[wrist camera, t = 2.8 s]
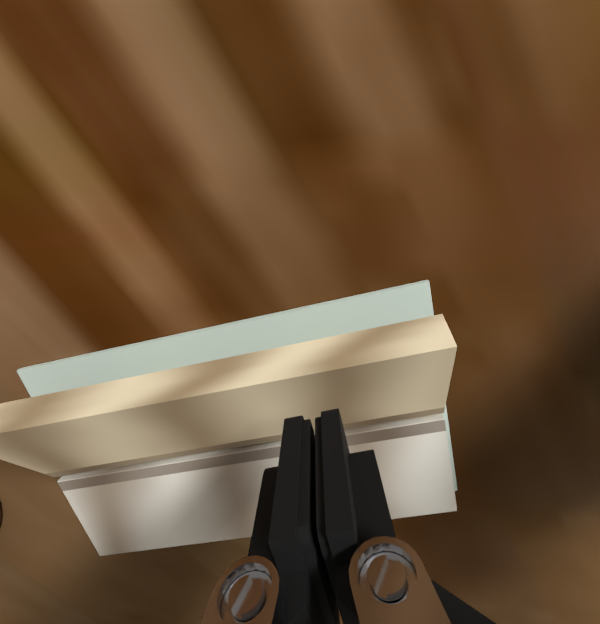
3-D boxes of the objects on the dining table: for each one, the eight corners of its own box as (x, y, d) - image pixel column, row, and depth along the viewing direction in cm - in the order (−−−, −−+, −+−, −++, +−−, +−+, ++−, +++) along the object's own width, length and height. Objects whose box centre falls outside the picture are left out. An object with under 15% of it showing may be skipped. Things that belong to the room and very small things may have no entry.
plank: (442, 313, 12) (457, 346, 11) (433, 385, 16) (443, 413, 15) (-32, 410, 15) (-52, 442, 14) (64, 449, 19) (54, 477, 18)
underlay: (427, 279, 15) (429, 281, 15) (455, 485, 19) (457, 490, 18) (21, 367, 18) (16, 370, 18) (111, 532, 21) (108, 537, 21)
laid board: (434, 401, 17) (444, 418, 15) (447, 488, 18) (457, 510, 17) (75, 462, 19) (57, 481, 18) (114, 533, 21) (99, 556, 20)
